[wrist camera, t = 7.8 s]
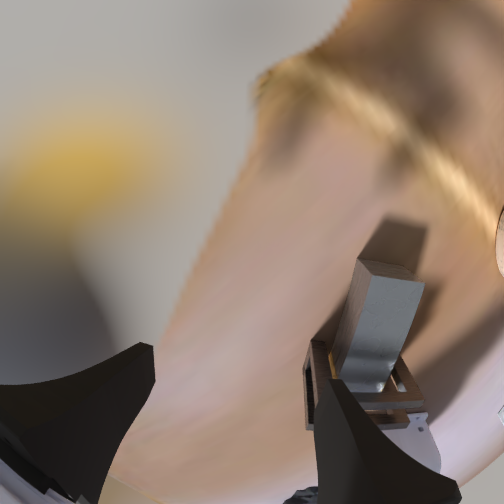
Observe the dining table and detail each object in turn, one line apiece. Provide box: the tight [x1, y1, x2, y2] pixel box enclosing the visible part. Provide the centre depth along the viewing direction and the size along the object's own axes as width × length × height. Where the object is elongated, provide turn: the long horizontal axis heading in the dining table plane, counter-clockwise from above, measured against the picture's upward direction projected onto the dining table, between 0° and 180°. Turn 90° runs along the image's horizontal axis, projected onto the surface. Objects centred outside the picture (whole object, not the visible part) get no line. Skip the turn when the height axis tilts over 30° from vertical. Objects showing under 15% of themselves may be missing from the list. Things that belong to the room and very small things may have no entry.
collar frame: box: [303, 340, 425, 431], centre depth 18 cm, size 8×3×7 cm, turn 83°
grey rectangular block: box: [328, 258, 425, 392], centre depth 18 cm, size 11×4×4 cm, turn 172°
